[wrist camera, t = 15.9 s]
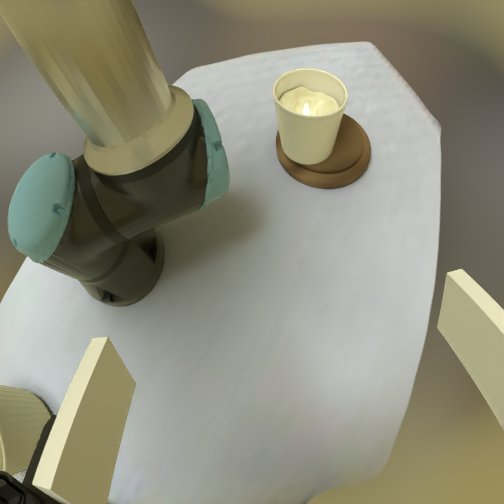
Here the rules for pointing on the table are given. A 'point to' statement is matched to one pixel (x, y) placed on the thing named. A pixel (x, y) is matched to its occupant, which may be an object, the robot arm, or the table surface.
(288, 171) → the walnut pedestal
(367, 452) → the table surface
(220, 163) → the robot arm
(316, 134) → the candle holder
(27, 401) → the canister
